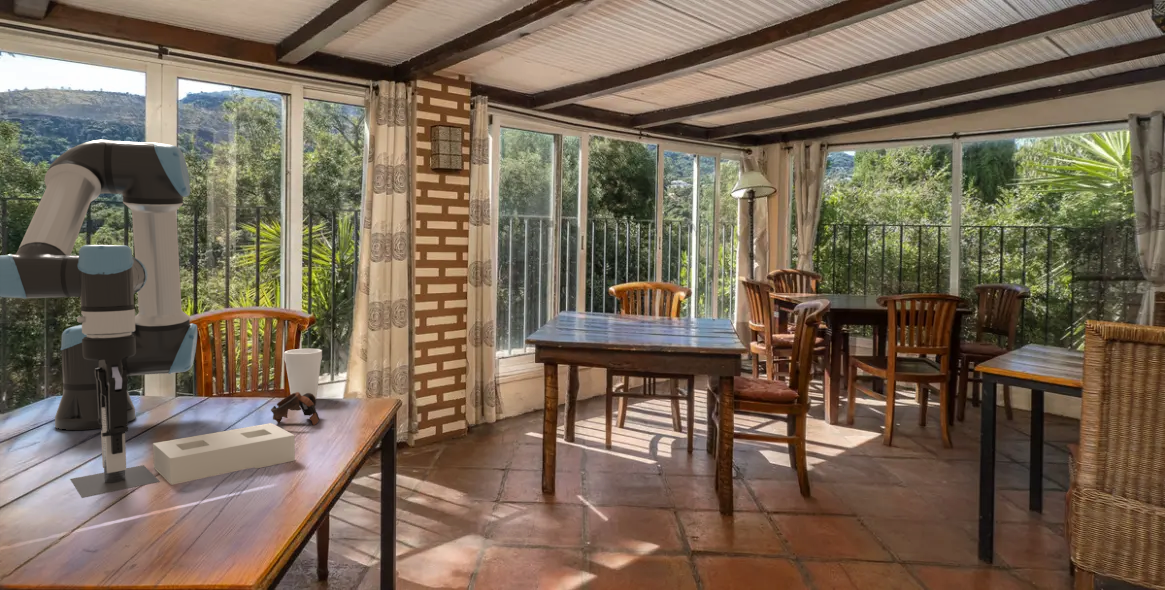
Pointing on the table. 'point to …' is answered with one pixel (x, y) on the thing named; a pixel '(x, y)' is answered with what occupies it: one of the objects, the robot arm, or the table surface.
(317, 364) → the foam cup
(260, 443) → the hole block
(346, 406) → the table surface
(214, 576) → the table surface
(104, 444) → the peg
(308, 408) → the brown arched piece
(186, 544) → the table surface
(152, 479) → the mat
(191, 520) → the table surface
